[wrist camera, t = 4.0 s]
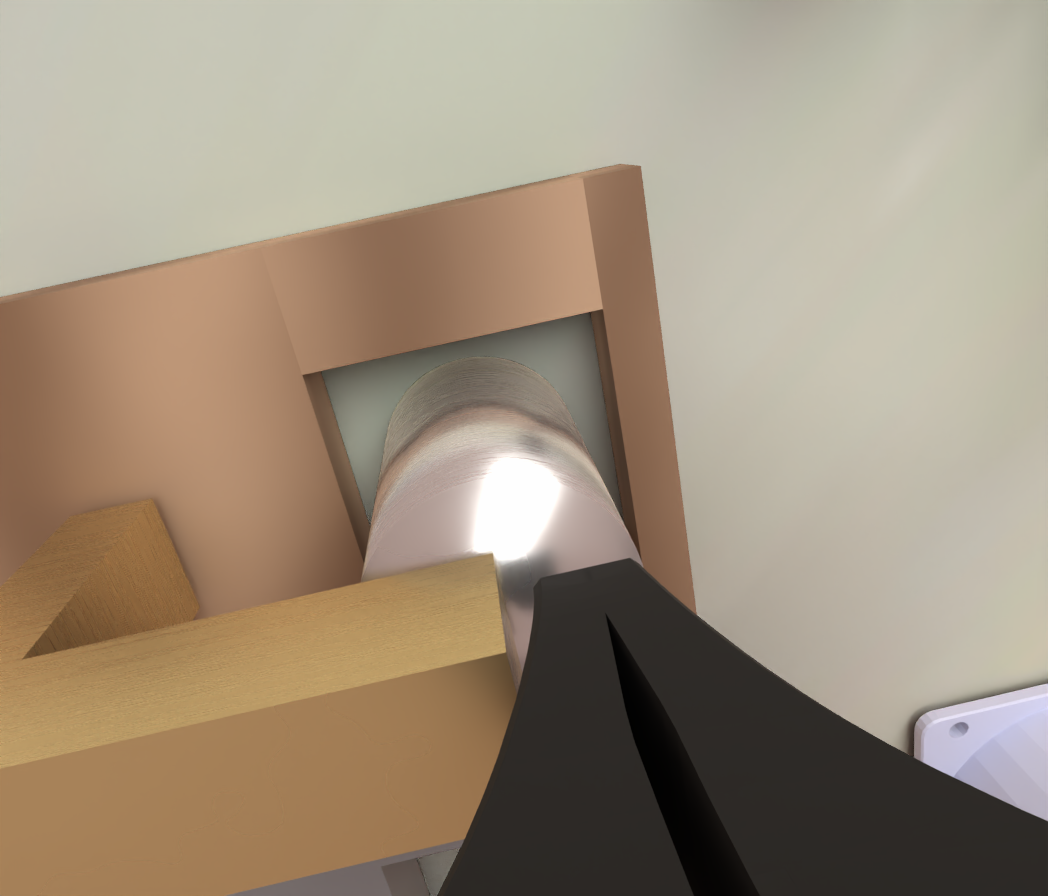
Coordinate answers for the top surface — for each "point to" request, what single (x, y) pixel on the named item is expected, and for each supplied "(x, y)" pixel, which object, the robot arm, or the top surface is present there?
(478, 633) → the bar
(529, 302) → the socket board
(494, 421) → the peg
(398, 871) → the frame
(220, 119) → the top surface
